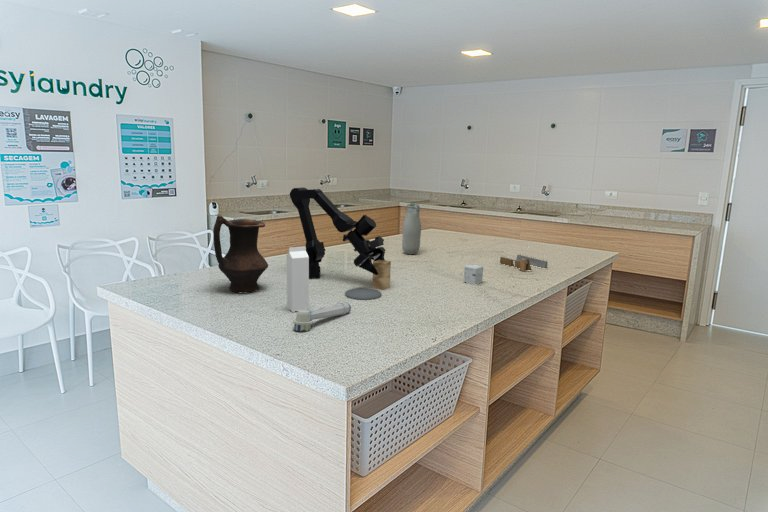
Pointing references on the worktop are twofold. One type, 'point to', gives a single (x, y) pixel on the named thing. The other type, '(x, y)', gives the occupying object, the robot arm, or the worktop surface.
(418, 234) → the grey bottle
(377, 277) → the tan wooden block
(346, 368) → the worktop surface
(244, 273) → the jug
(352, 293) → the mat
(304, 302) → the milk
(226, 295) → the worktop surface
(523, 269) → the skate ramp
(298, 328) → the toothbrush head
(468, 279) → the skincare box
